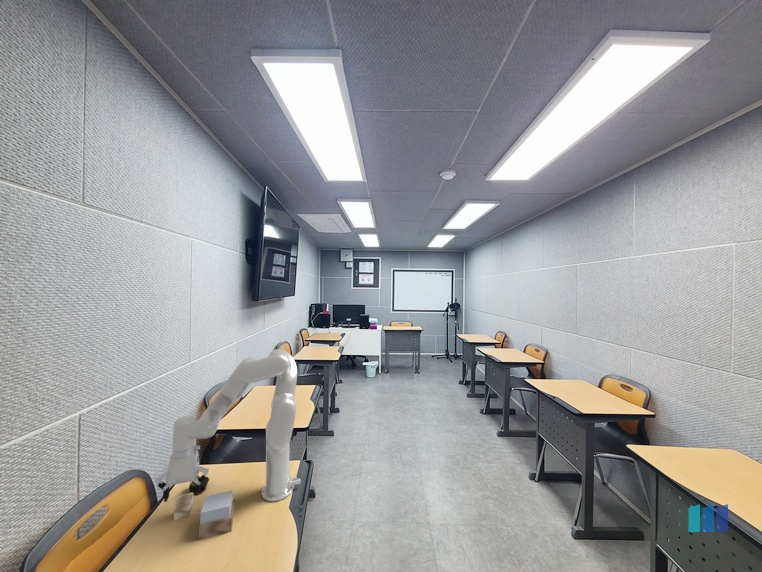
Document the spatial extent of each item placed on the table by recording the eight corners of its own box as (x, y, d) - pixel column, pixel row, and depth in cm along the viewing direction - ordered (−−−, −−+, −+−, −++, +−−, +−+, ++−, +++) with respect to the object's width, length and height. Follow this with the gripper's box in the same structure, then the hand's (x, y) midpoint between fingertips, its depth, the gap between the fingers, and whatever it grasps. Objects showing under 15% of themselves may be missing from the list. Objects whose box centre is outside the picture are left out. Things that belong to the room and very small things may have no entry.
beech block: (192, 507, 115) (193, 492, 115) (189, 516, 110) (190, 500, 110) (177, 511, 113) (178, 495, 113) (174, 520, 108) (174, 504, 108)
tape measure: (205, 493, 123) (205, 484, 123) (186, 497, 121) (186, 488, 121) (209, 483, 129) (209, 475, 129) (191, 486, 127) (191, 478, 127)
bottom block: (234, 512, 112) (234, 499, 112) (231, 532, 103) (231, 518, 103) (204, 520, 109) (204, 506, 109) (198, 541, 99) (199, 526, 99)
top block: (232, 500, 112) (232, 490, 112) (229, 517, 103) (229, 506, 103) (205, 506, 109) (206, 495, 109) (200, 524, 100) (200, 512, 100)
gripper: (211, 442, 118) (209, 485, 118) (160, 449, 112) (157, 495, 112) (207, 452, 112) (205, 497, 111) (153, 460, 105) (150, 508, 105)
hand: (181, 496), depth 111 cm, fingers open, 9 cm apart
